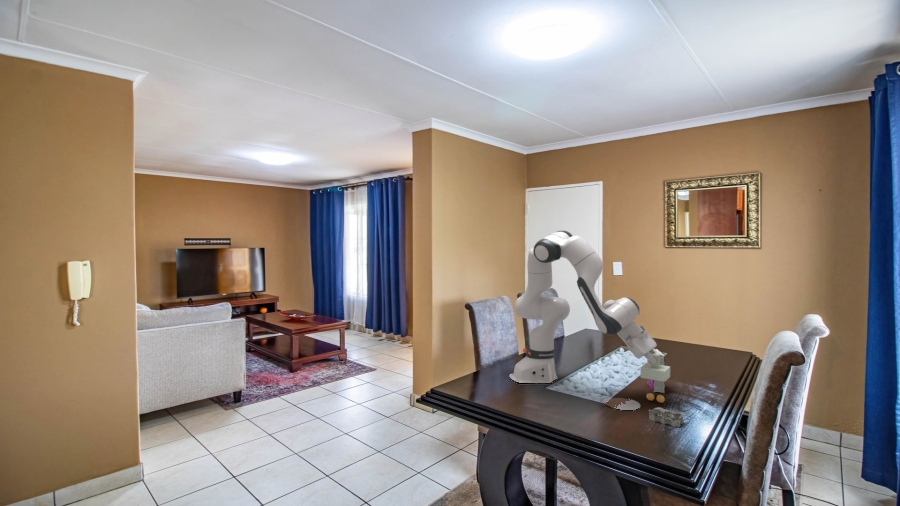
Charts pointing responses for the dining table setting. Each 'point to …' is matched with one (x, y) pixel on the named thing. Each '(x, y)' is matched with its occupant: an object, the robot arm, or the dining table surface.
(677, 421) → the egg carton
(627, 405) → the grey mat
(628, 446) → the dining table surface
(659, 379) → the sage cover
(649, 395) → the amber marble
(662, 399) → the amber marble
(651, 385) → the candy bar box
